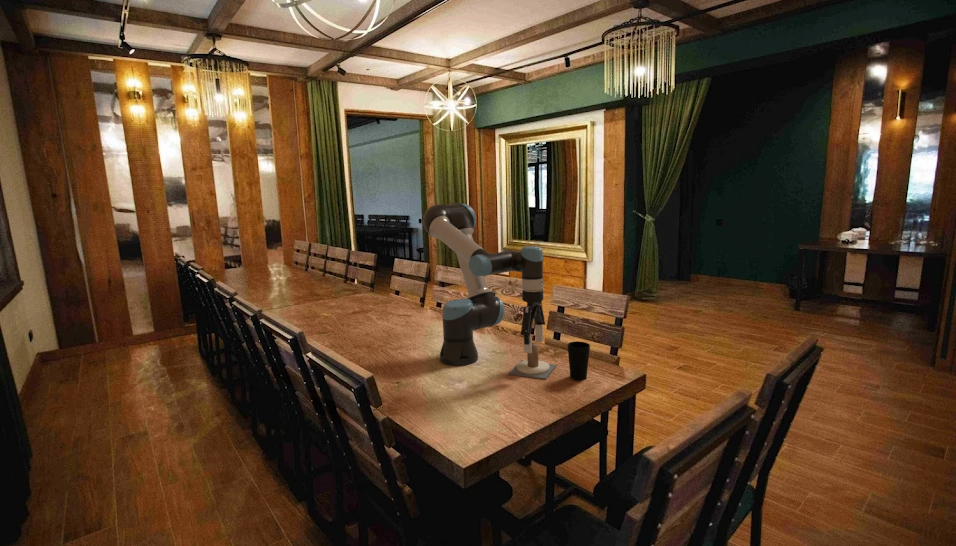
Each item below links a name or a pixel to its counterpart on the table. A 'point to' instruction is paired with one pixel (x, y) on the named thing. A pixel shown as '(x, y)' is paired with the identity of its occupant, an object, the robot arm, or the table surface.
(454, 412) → the table surface
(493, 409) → the table surface
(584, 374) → the cup
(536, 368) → the lid
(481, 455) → the table surface
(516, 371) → the mat
